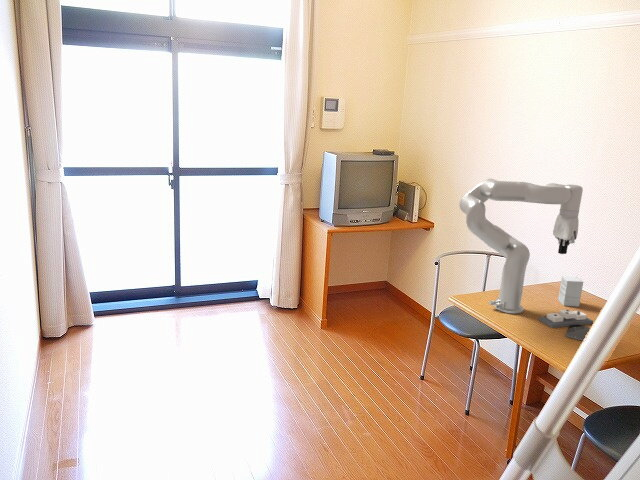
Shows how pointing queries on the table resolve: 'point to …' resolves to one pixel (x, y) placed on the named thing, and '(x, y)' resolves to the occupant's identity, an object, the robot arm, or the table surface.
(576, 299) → the supplement box
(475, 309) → the table surface
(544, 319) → the button board
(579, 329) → the smartphone
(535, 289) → the table surface
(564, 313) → the tile two
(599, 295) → the table surface
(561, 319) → the tile one
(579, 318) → the tile three
